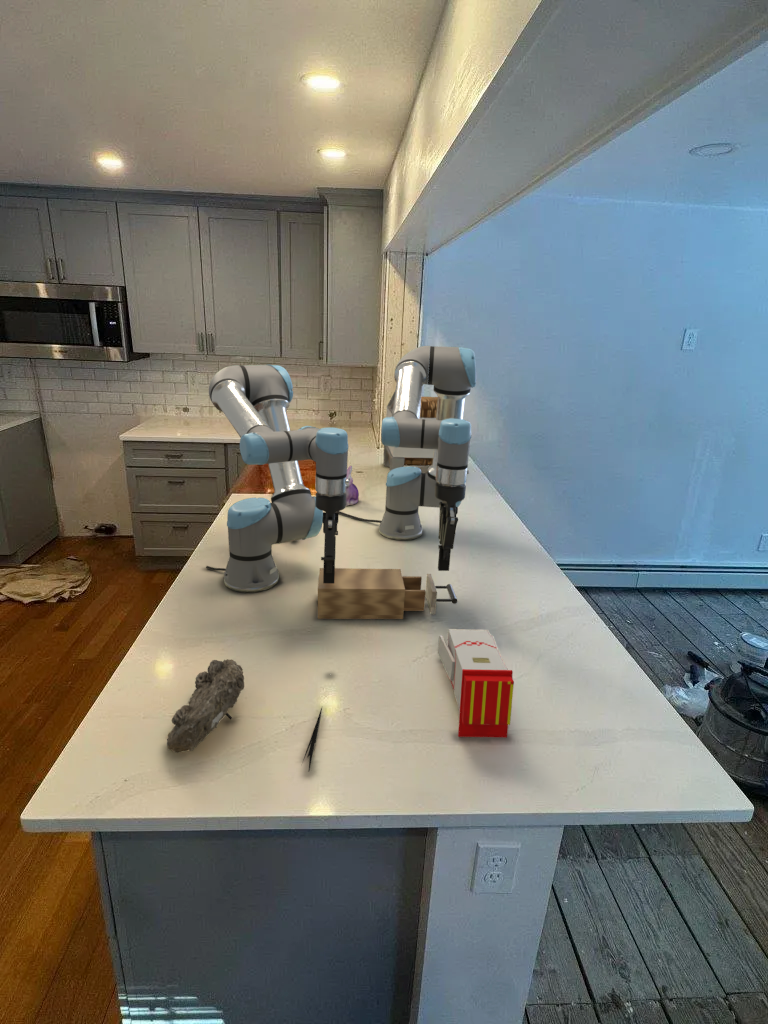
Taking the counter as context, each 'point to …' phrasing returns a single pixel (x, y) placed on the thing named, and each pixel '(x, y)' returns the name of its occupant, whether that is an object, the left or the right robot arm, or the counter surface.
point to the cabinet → (362, 594)
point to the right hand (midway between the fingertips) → (443, 569)
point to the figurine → (351, 489)
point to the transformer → (410, 455)
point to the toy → (478, 682)
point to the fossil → (206, 705)
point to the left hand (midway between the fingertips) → (329, 570)
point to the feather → (313, 740)
